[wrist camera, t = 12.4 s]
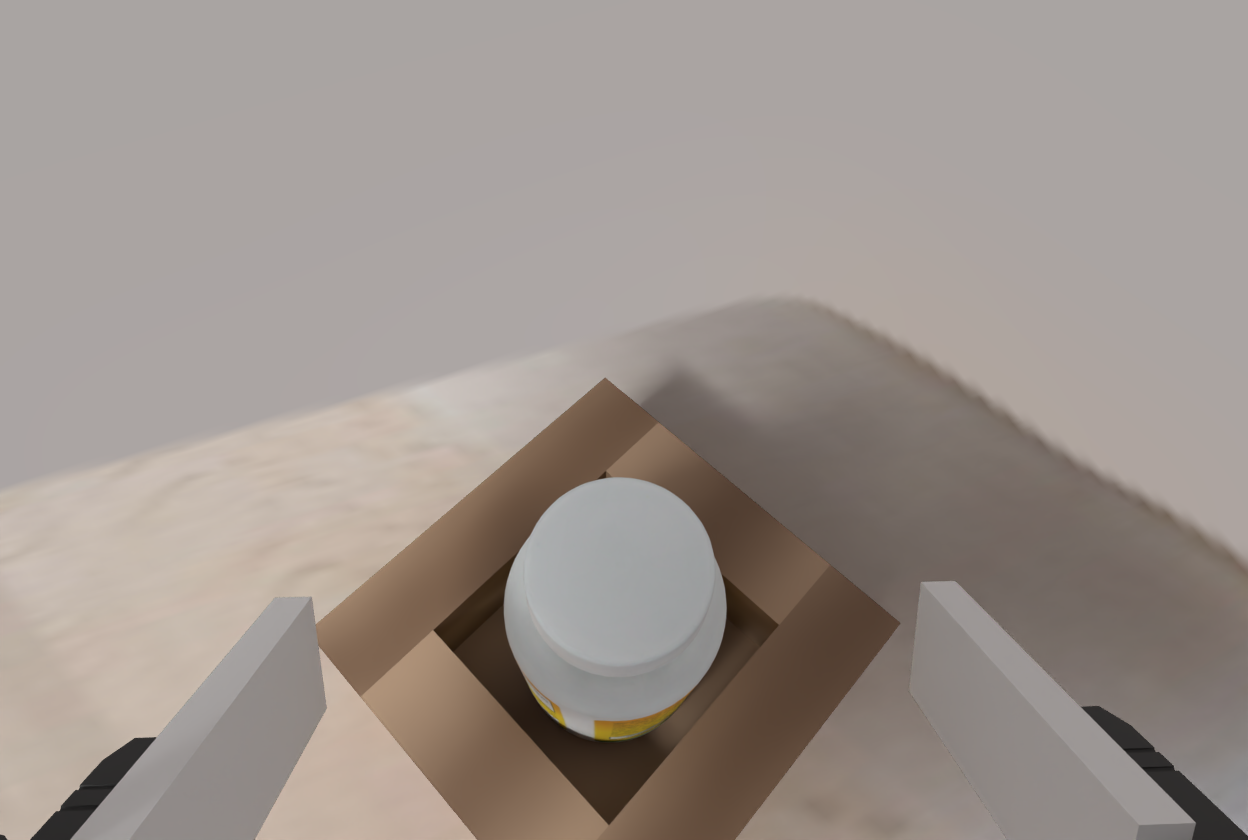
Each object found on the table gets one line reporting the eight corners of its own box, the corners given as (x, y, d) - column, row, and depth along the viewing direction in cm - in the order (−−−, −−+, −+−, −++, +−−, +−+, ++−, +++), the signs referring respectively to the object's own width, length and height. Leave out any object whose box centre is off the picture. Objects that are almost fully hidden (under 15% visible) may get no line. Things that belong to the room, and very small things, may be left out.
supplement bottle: (499, 707, 23) (438, 642, 14) (565, 550, 25) (546, 415, 17) (664, 773, 22) (704, 747, 13) (715, 604, 24) (776, 492, 16)
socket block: (350, 660, 24) (306, 631, 21) (605, 433, 28) (605, 377, 25) (609, 972, 20) (610, 1002, 17) (858, 652, 25) (900, 623, 21)
